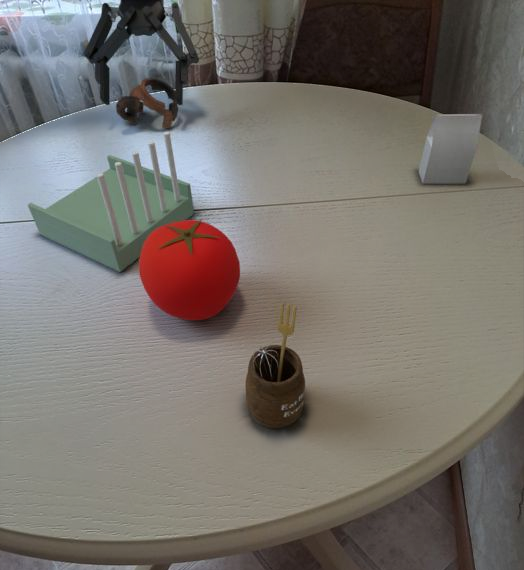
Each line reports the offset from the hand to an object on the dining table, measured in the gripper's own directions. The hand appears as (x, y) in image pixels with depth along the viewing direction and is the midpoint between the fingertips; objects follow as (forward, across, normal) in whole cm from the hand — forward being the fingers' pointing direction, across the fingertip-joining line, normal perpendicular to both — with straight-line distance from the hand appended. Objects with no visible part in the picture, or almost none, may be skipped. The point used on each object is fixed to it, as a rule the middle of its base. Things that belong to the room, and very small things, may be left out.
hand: (141, 102), depth 90 cm
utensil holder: (+47, -26, +40) cm, 67 cm away
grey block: (+15, -52, +8) cm, 54 cm away
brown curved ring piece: (+2, 0, -5) cm, 5 cm away
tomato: (+36, -16, +29) cm, 49 cm away
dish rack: (+25, -2, +18) cm, 31 cm away
